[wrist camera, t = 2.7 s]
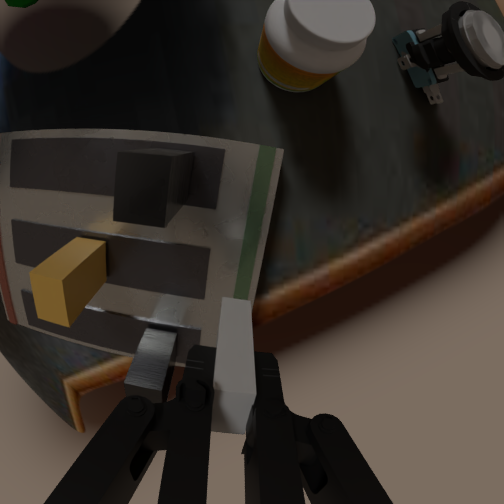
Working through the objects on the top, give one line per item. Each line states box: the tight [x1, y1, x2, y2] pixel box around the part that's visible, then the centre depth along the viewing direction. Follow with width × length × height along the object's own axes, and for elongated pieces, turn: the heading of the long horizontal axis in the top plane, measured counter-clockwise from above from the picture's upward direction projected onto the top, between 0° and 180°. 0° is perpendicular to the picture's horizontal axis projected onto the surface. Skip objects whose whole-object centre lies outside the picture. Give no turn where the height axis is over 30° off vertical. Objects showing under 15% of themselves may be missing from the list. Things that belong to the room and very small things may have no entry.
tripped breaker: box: [29, 237, 107, 328], centre depth 16 cm, size 2×3×6 cm
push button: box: [392, 1, 504, 105], centre depth 13 cm, size 7×5×10 cm
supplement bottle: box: [257, 0, 375, 92], centre depth 13 cm, size 5×5×10 cm
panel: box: [0, 129, 284, 403], centre depth 17 cm, size 24×18×10 cm
